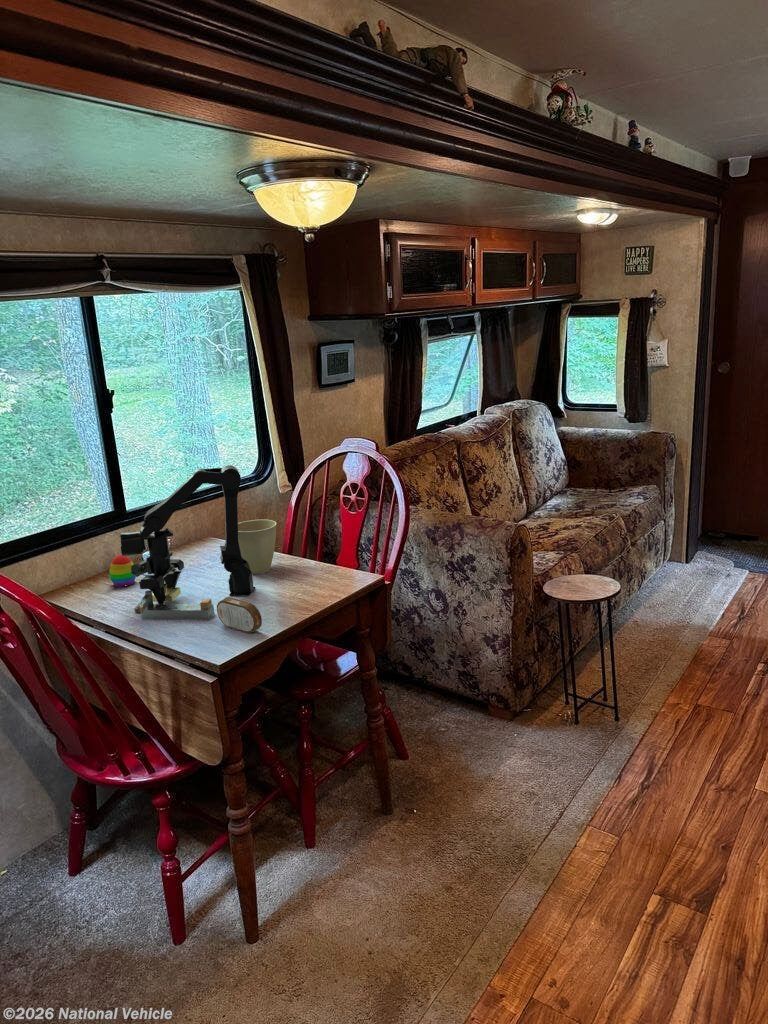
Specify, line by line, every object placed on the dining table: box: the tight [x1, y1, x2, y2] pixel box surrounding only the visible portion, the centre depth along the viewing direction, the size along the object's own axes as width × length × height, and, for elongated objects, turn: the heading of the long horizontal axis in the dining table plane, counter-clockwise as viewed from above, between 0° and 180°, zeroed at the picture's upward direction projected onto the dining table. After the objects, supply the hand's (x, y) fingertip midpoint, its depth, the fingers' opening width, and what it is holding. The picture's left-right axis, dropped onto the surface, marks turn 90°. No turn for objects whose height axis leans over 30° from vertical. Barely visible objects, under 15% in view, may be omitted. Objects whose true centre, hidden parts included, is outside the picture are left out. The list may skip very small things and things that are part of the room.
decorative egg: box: [108, 554, 137, 587], centre depth 231 cm, size 8×8×10 cm
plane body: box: [140, 598, 215, 621], centre depth 202 cm, size 20×4×5 cm, turn 83°
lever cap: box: [152, 586, 182, 603], centre depth 212 cm, size 7×6×2 cm
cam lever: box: [134, 590, 154, 615], centre depth 197 cm, size 12×2×5 cm, turn 3°
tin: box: [216, 596, 263, 634], centre depth 191 cm, size 15×3×8 cm, turn 55°
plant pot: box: [238, 519, 277, 575], centre depth 236 cm, size 15×15×16 cm
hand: (166, 600), depth 213 cm, fingers closed on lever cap, 6 cm apart
